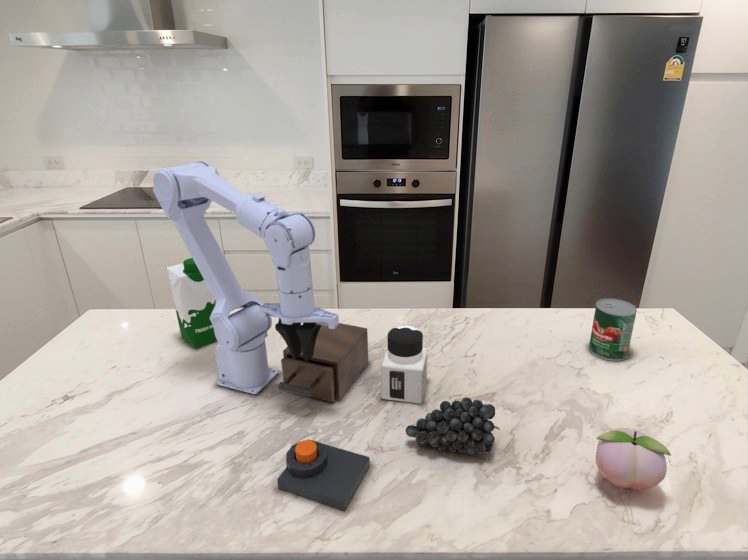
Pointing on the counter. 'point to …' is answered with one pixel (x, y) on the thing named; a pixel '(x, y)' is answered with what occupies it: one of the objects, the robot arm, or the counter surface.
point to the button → (306, 451)
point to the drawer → (308, 378)
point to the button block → (325, 475)
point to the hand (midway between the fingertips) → (302, 356)
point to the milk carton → (192, 303)
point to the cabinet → (341, 354)
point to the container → (404, 366)
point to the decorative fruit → (631, 459)
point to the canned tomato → (612, 329)
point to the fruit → (457, 427)
